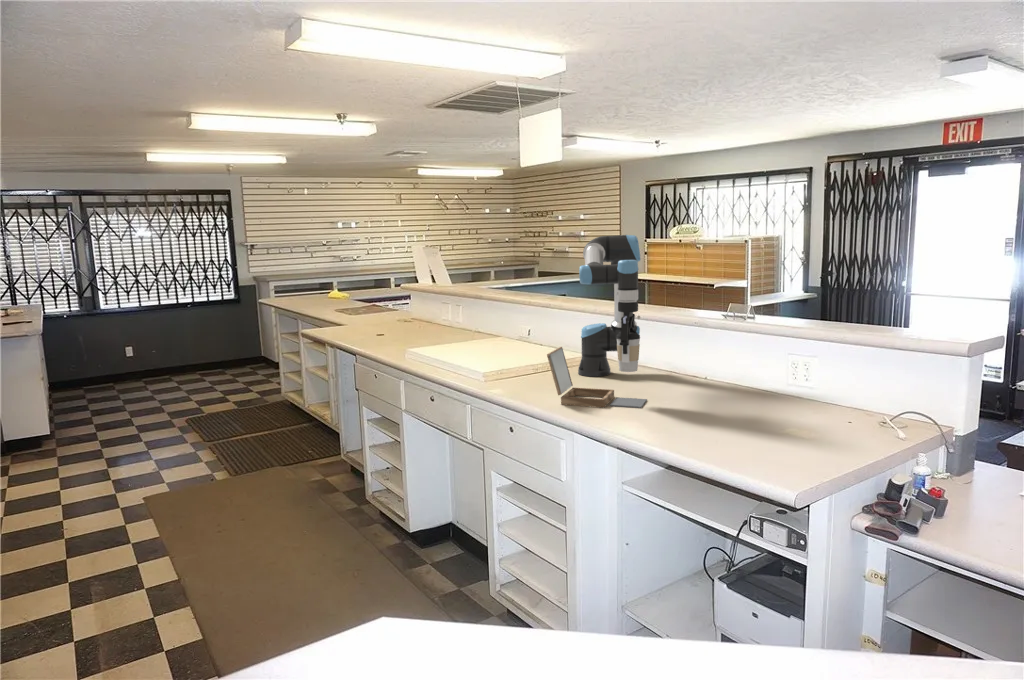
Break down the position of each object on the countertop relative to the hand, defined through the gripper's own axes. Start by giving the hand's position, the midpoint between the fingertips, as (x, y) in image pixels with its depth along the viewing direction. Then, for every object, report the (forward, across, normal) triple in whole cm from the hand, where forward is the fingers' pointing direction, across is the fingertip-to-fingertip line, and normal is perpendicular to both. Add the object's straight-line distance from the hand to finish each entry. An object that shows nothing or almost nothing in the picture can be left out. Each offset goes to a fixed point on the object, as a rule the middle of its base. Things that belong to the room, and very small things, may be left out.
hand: (628, 359), depth 252 cm
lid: (+5, 0, -27) cm, 27 cm away
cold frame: (+17, 0, -16) cm, 23 cm away
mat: (+17, 0, 0) cm, 17 cm away
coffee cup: (+4, 0, 0) cm, 4 cm away
